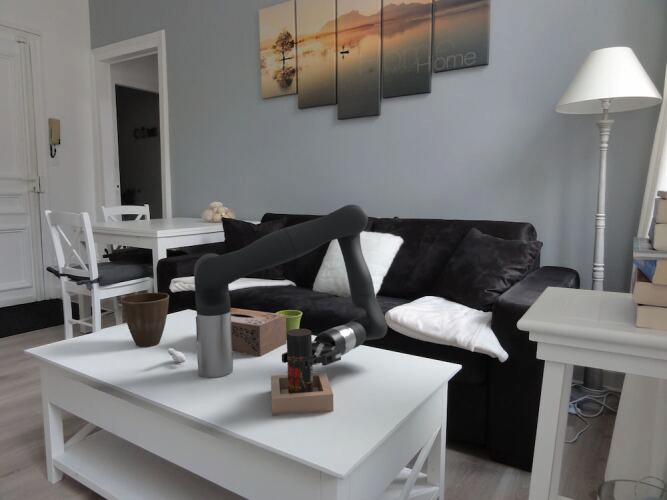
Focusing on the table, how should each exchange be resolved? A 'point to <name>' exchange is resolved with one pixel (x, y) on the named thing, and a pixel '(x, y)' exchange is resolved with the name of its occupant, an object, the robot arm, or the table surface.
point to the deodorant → (299, 361)
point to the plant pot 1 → (146, 317)
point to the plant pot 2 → (291, 319)
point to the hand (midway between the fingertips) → (293, 361)
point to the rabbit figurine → (176, 355)
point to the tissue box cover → (256, 331)
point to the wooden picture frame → (301, 396)
